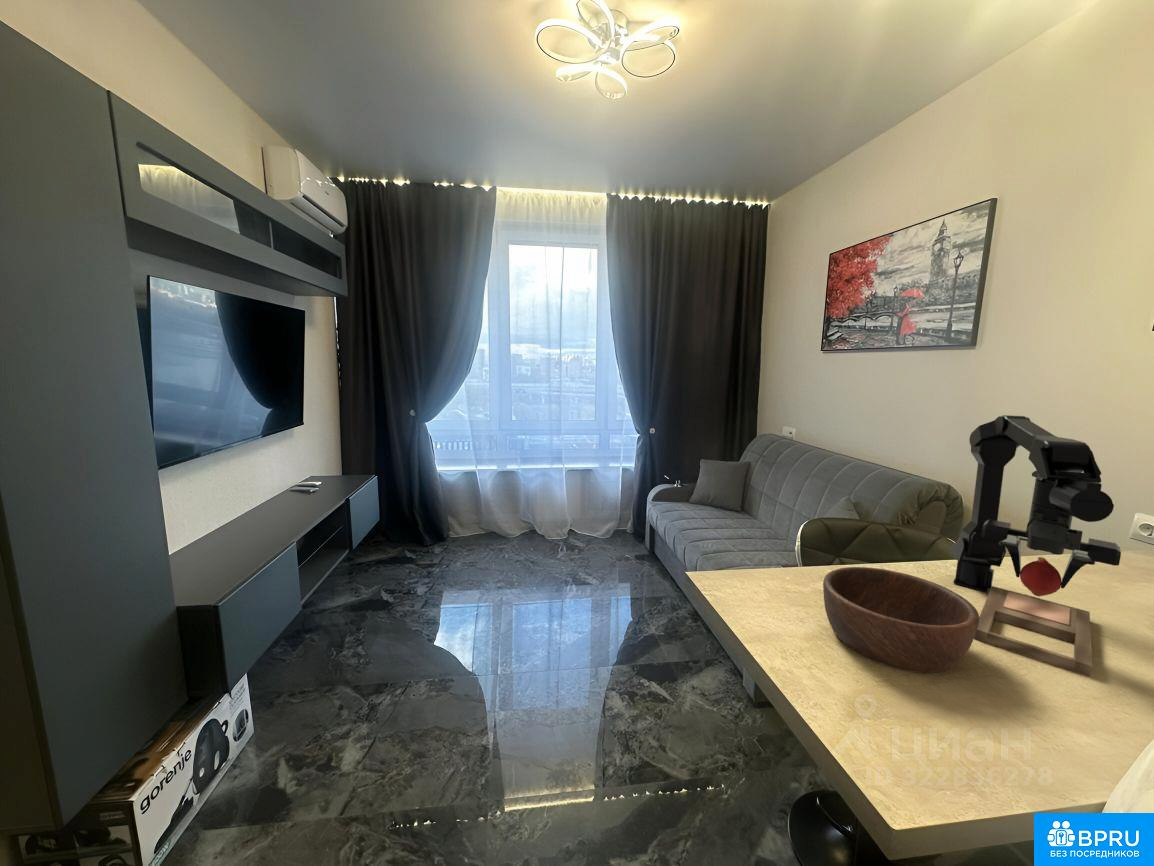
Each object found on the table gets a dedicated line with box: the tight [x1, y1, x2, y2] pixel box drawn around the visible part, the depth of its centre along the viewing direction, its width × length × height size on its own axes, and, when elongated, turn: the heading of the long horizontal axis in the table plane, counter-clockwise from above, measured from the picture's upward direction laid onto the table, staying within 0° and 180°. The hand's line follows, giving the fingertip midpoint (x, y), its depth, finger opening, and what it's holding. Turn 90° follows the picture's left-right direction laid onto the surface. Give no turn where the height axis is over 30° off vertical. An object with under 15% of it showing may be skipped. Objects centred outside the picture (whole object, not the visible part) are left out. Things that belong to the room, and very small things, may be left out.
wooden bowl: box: [822, 566, 980, 673], centre depth 92 cm, size 25×25×10 cm
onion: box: [1019, 556, 1062, 598], centre depth 92 cm, size 6×6×8 cm
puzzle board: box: [973, 585, 1093, 677], centre depth 98 cm, size 16×28×2 cm, turn 133°
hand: (1039, 582), depth 92 cm, fingers closed on onion, 6 cm apart
